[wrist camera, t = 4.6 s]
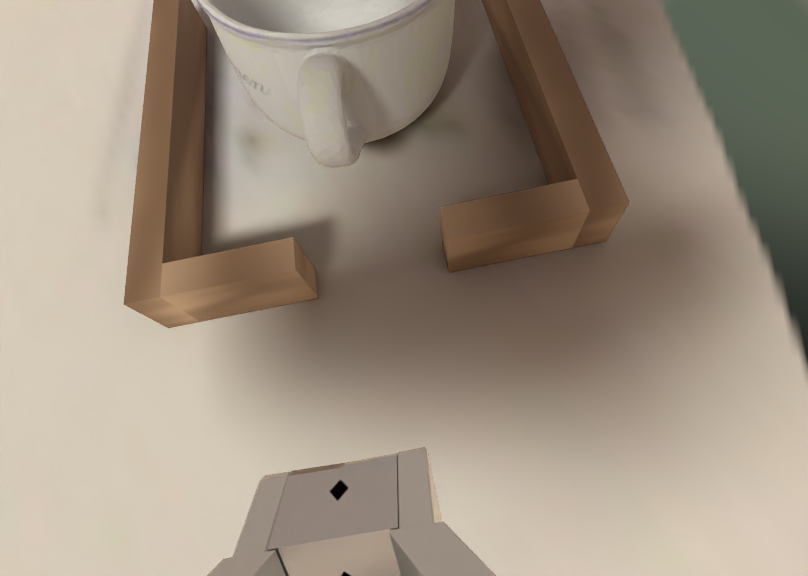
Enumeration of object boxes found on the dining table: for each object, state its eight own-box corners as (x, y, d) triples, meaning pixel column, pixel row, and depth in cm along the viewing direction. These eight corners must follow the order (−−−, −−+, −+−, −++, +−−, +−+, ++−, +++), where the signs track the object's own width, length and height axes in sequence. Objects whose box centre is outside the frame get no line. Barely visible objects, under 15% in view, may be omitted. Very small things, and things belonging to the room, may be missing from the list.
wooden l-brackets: (168, 328, 21) (123, 304, 18) (184, 33, 29) (155, -14, 26) (606, 241, 20) (629, 202, 17) (494, -36, 28) (498, -93, 25)
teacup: (292, 29, 28) (232, -133, 21) (469, 28, 26) (473, -149, 19) (226, 224, 23) (113, 100, 15) (441, 239, 21) (431, 108, 14)
